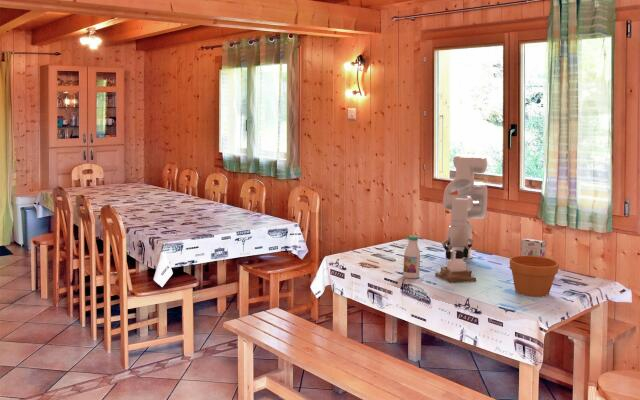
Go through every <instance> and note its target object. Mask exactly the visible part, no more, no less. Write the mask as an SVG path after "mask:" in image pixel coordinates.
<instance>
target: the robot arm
mask: <svg viewBox="0 0 640 400" xmlns="http://www.w3.org/2000/svg"><path fill="white" fill-rule="evenodd" d="M452 162H453V166H454V168H455V177H454V179H453V180H451V181H450V182H448V184H447V185H446V187H445V189H444V193H443V200H442V206H443V208H444V209H445V210H447V211H451V214H450V215H451V217H450V225H449V226H448V229H447V234H446V239H444V240H443V241H442V242H441V245H442V248H443V249H444V251H445V259H446V260H448V259H449V260H450V259H451V251H453V250H460V251H462V252H463V253H464V255H463V260H469V259H473V258H474V255H473V254H472V253H471V251H472V247H473V245H474V242H475V241H474V239H472V236H473V235H472V234H473V225H472V222H471V221H470V220H469V219H477V220H478V219H479V220H480V219H481V220H482V219H485V217H487V212H488V211H487V210H488V209H487V208H488V191H489V190H488V185H487V184H485V183H483V182H476V181H475V174H485V172H486V171H487V167H488V161H487V157H486V156H485V155H473V154H456V155H454V157H453V160H452ZM456 191H457V194H452V193H454V192H456Z"/></svg>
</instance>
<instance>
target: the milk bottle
mask: <svg viewBox="0 0 640 400" xmlns="http://www.w3.org/2000/svg"><path fill="white" fill-rule="evenodd" d="M407 239H408V240H407V241H408V242H407V245H406V248H405V250H404V254H403V267H402V268H403V269H402V270H403V271H402V274H403V278H407V279H419V278H420V267H421V251H420V248H419V245H418V241H419V237H418V235H409V236H408V238H407Z"/></svg>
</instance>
